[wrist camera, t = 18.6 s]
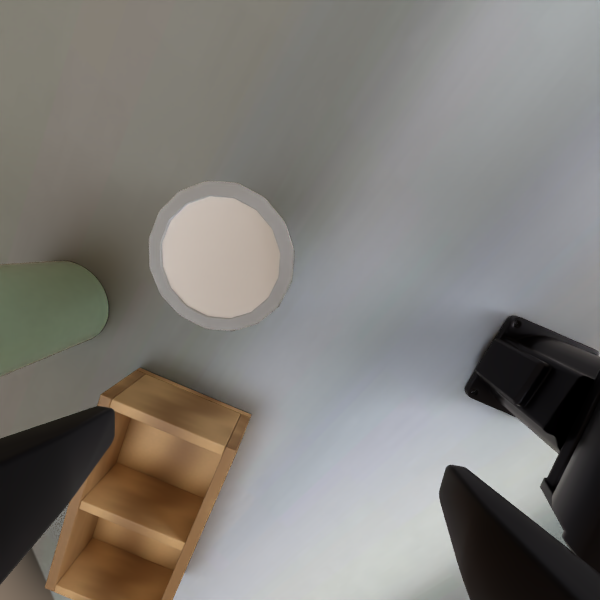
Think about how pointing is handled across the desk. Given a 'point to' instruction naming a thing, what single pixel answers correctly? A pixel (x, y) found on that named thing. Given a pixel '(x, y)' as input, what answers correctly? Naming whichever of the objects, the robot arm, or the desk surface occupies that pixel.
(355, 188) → the desk surface
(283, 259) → the shot glass
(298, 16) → the desk surface
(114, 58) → the desk surface
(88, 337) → the bottle
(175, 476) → the crate
